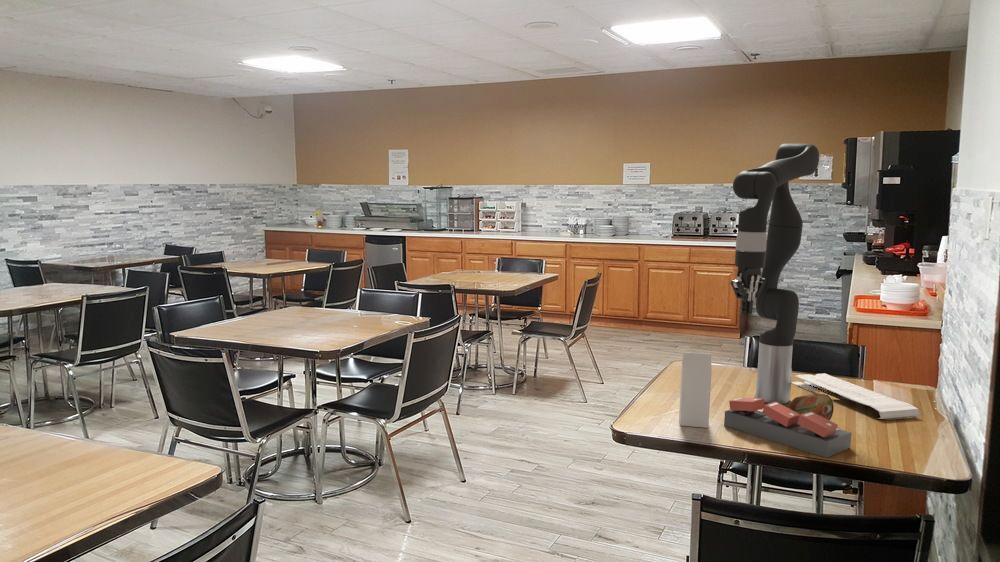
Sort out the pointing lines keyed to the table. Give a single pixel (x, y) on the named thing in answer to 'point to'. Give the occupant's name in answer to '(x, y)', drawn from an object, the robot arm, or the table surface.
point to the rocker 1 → (747, 404)
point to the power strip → (787, 433)
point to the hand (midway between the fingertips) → (746, 314)
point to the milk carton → (695, 389)
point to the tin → (813, 405)
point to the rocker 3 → (817, 424)
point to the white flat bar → (859, 395)
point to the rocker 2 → (781, 414)
